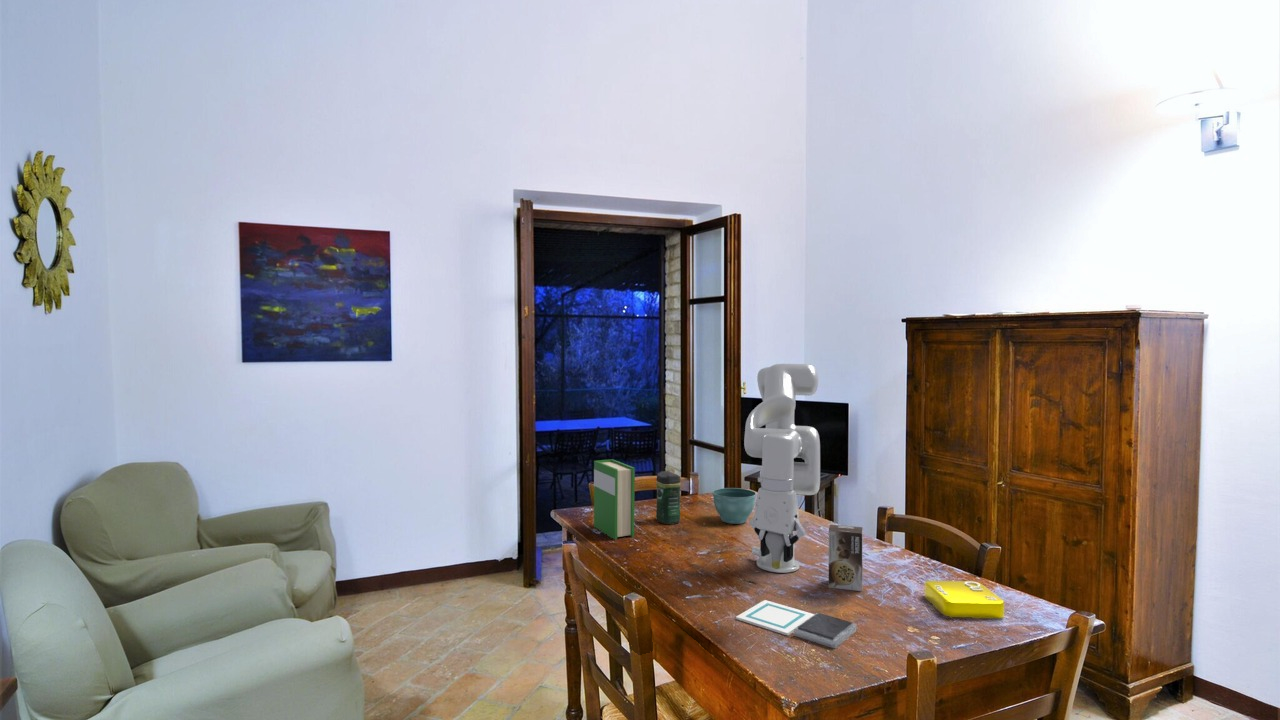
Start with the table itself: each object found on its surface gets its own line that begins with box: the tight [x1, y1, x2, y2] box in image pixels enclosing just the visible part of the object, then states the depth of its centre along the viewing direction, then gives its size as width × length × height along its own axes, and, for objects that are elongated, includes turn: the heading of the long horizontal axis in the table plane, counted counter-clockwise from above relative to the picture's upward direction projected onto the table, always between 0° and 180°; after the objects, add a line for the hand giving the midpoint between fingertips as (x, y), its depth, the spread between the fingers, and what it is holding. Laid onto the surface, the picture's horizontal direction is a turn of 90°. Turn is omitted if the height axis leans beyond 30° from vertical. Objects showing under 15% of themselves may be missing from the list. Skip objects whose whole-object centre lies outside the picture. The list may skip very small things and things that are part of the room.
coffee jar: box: [655, 470, 682, 525], centre depth 251 cm, size 10×8×19 cm
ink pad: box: [793, 612, 858, 649], centre depth 157 cm, size 10×12×2 cm
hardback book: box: [593, 459, 636, 541], centre depth 238 cm, size 18×7×24 cm, turn 28°
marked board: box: [735, 599, 816, 636], centre depth 165 cm, size 14×14×1 cm
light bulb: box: [765, 531, 786, 569], centre depth 165 cm, size 5×6×10 cm
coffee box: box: [827, 524, 864, 592], centre depth 187 cm, size 9×6×16 cm
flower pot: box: [712, 487, 757, 525], centre depth 253 cm, size 16×16×11 cm
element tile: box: [924, 580, 1005, 619], centre depth 174 cm, size 15×15×5 cm
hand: (776, 557), depth 165 cm, fingers closed on light bulb, 5 cm apart
